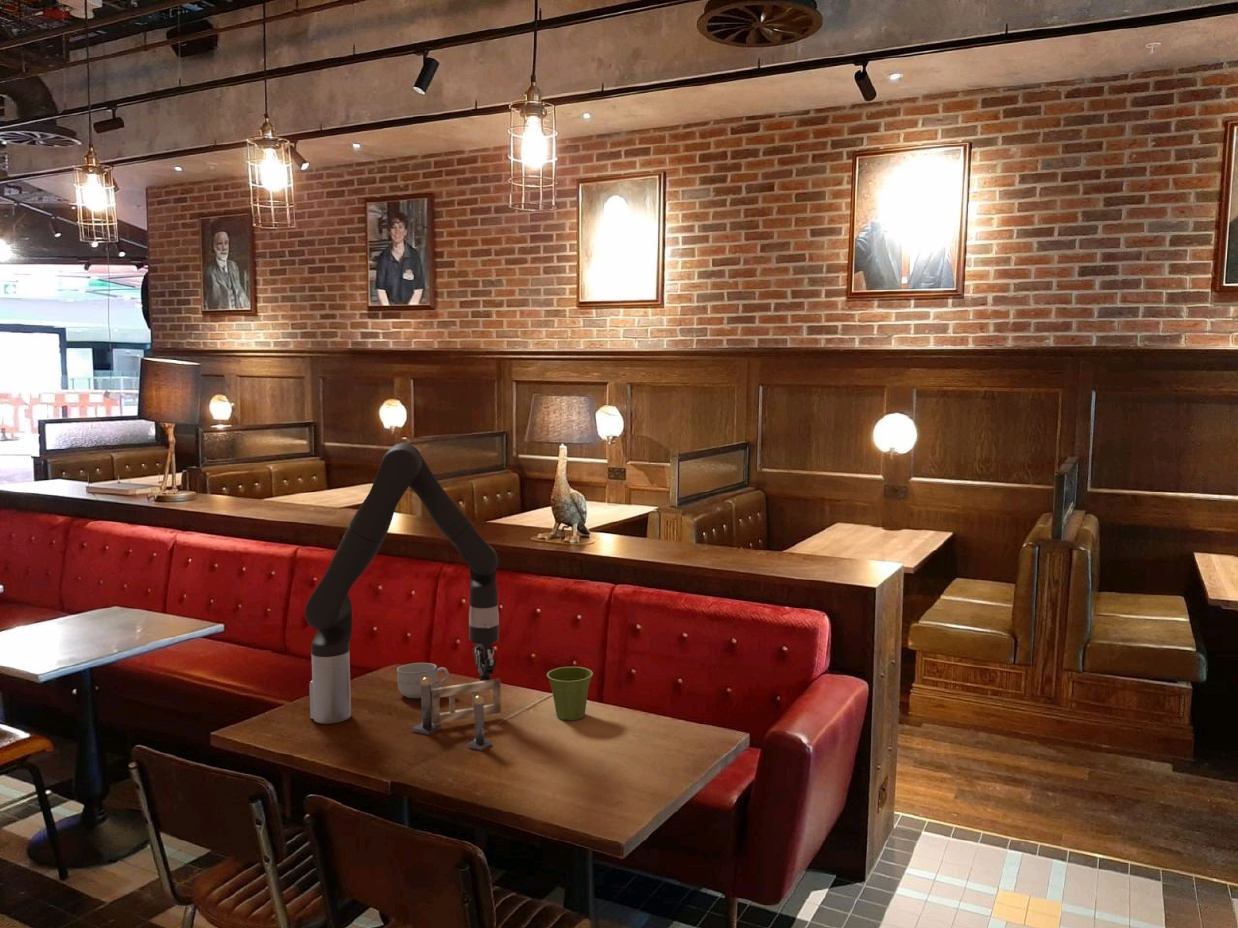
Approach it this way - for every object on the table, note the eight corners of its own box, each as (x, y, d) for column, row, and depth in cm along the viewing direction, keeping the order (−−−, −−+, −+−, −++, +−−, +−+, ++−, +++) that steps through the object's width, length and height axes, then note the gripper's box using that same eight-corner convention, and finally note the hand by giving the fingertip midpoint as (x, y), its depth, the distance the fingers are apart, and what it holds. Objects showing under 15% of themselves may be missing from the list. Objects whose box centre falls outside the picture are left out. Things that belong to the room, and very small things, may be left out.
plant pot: (566, 704, 245) (566, 663, 244) (602, 714, 238) (602, 671, 237) (537, 718, 236) (537, 675, 235) (573, 728, 229) (573, 683, 228)
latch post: (467, 747, 216) (466, 696, 215) (477, 741, 220) (476, 691, 219) (481, 750, 215) (480, 699, 214) (491, 744, 218) (490, 694, 217)
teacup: (391, 700, 249) (390, 671, 248) (406, 687, 259) (406, 659, 259) (440, 703, 246) (439, 674, 246) (454, 690, 257) (453, 662, 256)
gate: (434, 723, 227) (433, 690, 227) (432, 721, 229) (431, 688, 228) (500, 712, 235) (500, 679, 235) (498, 710, 237) (498, 678, 236)
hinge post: (412, 731, 226) (411, 678, 225) (425, 724, 231) (424, 673, 230) (428, 735, 224) (427, 681, 223) (441, 728, 228) (440, 675, 227)
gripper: (462, 617, 239) (463, 682, 241) (477, 630, 227) (478, 698, 229) (490, 614, 243) (490, 678, 244) (506, 627, 231) (507, 694, 232)
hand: (484, 688), depth 237 cm, fingers closed
